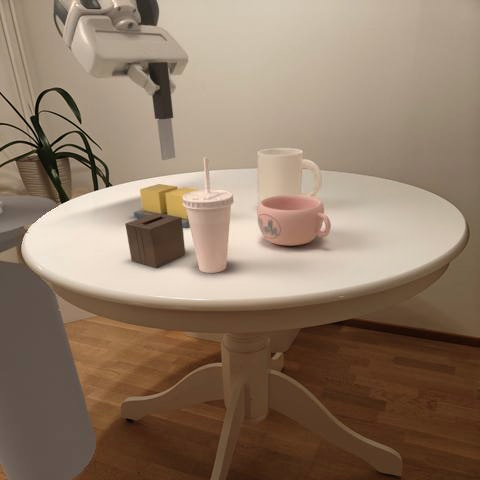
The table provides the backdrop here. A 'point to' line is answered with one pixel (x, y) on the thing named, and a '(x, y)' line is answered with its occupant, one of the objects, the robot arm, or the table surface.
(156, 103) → the knife
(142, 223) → the knife block
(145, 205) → the butter
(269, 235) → the mug
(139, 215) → the butter dish
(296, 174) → the mug
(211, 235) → the smoothie
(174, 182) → the table surface
